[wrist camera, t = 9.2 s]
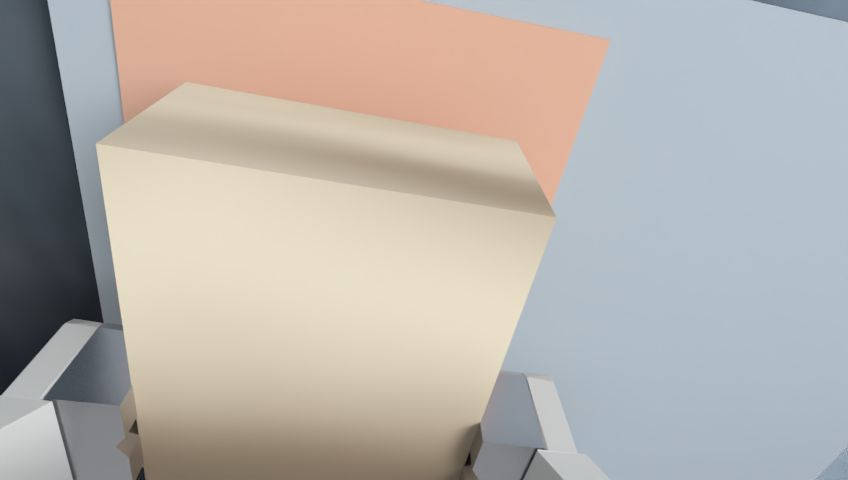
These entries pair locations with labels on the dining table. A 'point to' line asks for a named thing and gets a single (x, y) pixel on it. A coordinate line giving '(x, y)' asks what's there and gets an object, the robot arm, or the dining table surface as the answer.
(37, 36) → the dining table surface
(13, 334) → the dining table surface
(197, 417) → the cream curved ramp
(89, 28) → the mat
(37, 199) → the dining table surface
